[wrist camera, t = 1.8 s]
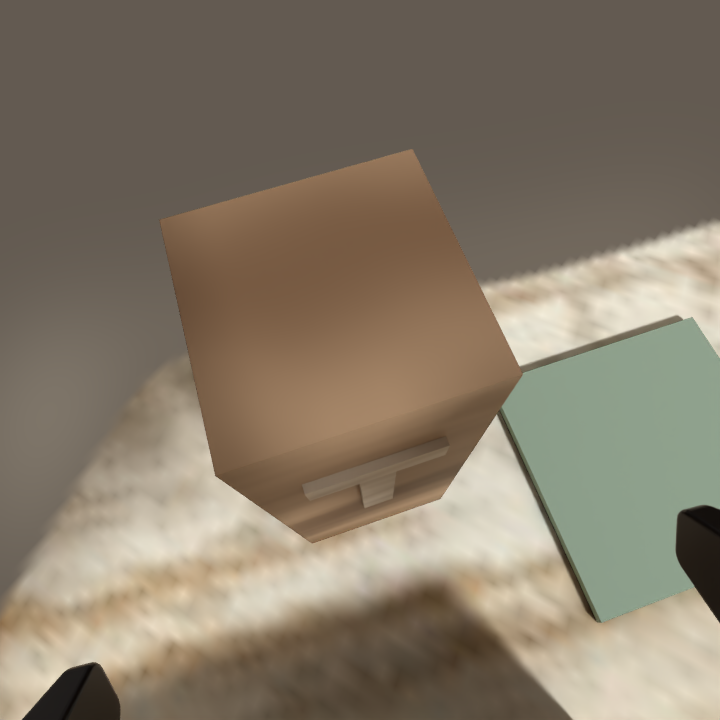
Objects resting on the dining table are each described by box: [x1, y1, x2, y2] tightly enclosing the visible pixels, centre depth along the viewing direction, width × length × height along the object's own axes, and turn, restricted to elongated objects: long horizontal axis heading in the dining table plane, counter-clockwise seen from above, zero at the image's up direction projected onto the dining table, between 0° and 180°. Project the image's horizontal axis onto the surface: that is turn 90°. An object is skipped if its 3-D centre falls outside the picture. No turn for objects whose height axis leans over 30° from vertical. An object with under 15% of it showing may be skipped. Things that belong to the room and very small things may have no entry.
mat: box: [500, 317, 720, 623], centre depth 20 cm, size 9×9×1 cm
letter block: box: [159, 149, 523, 543], centre depth 15 cm, size 5×5×12 cm
